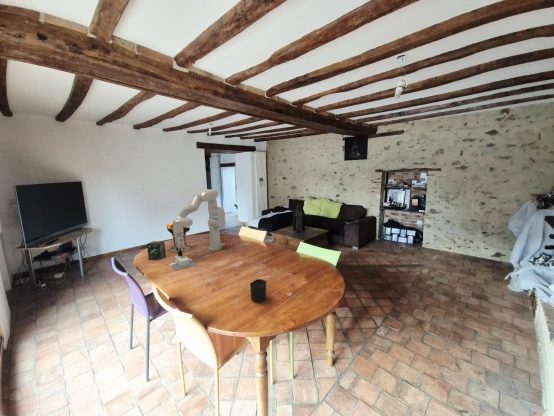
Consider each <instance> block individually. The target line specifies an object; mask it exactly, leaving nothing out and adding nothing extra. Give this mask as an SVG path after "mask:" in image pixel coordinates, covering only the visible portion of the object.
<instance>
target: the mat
mask: <svg viewBox="0 0 554 416" xmlns="http://www.w3.org/2000/svg"><path fill="white" fill-rule="evenodd" d="M195 266H197V263H195V262H194V261H193V260H192V261H189V265H187V266H183V267H180V266H179V265H178V264H176V265H172V266H171V268H172V269H173V270H174V271H176V272H177V271H181V270H184V269H188V268H191V267H192V268H193V267H195Z"/></svg>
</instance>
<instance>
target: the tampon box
mask: <svg viewBox="0 0 554 416" xmlns="http://www.w3.org/2000/svg"><path fill="white" fill-rule="evenodd" d="M146 247H147V255H148V256H147V257H148V261H153V260H155V261H156V260H157V261H160V260H162V259H164V258H165V257H166V256H167V252H166V243H165V240H164V241H163V240H153V241H150V242H149V243H148V242H147V244H146Z"/></svg>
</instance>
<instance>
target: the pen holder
mask: <svg viewBox="0 0 554 416" xmlns="http://www.w3.org/2000/svg"><path fill="white" fill-rule="evenodd" d="M249 284H250V285H249V286H250V287H249V288H250V300H251V301H252V302H253V303H263V302H264V301H265V300H266V299H267V281H266V280H265V279H260V278H258V279H255V280H253V281H252V282H250V283H249Z"/></svg>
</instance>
